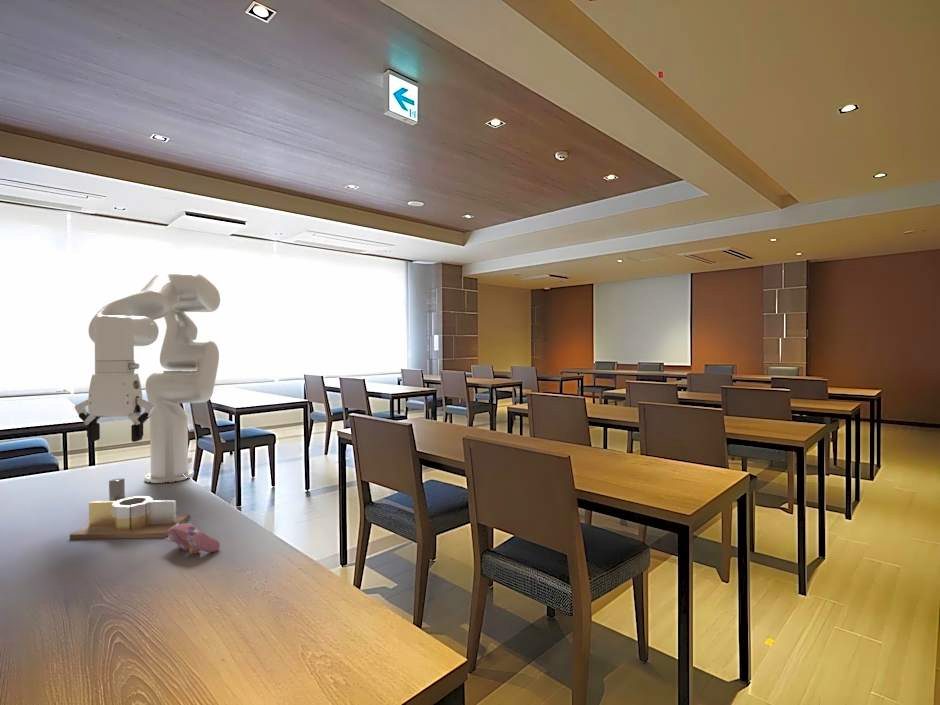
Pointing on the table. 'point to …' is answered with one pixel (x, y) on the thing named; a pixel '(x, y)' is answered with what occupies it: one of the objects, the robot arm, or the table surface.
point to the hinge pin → (116, 489)
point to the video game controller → (192, 538)
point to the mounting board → (126, 531)
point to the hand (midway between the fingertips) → (115, 440)
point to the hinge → (132, 512)
